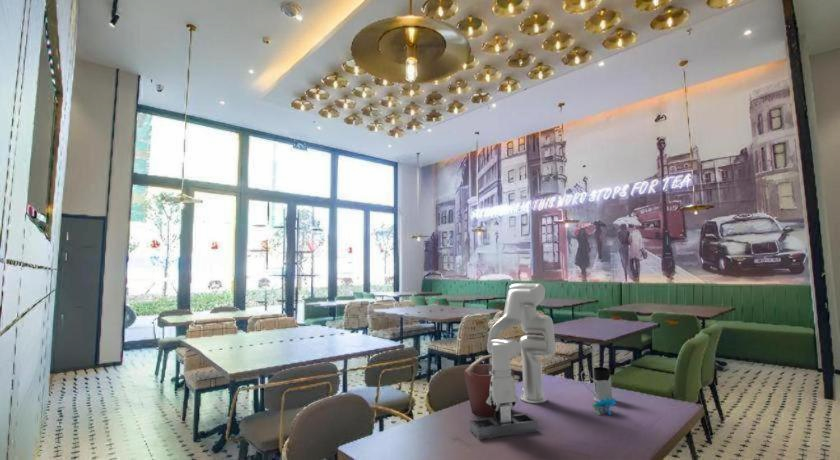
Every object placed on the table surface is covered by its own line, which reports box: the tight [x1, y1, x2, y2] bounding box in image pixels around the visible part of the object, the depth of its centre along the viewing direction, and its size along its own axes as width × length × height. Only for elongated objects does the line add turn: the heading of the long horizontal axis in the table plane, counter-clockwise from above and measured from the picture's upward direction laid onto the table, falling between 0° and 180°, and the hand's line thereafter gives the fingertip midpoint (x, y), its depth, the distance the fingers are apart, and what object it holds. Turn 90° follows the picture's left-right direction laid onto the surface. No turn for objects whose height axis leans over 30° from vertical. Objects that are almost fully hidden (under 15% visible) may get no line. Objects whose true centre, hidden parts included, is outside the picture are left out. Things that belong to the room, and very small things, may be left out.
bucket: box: [463, 354, 515, 418], centre depth 184 cm, size 24×22×25 cm
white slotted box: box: [496, 403, 511, 425], centre depth 160 cm, size 4×4×7 cm
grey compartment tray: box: [469, 413, 539, 440], centre depth 160 cm, size 26×9×4 cm, turn 105°
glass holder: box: [580, 366, 613, 402], centre depth 196 cm, size 9×14×15 cm, turn 74°
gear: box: [591, 397, 617, 416], centre depth 177 cm, size 11×6×10 cm
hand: (503, 418), depth 160 cm, fingers closed on white slotted box, 4 cm apart
